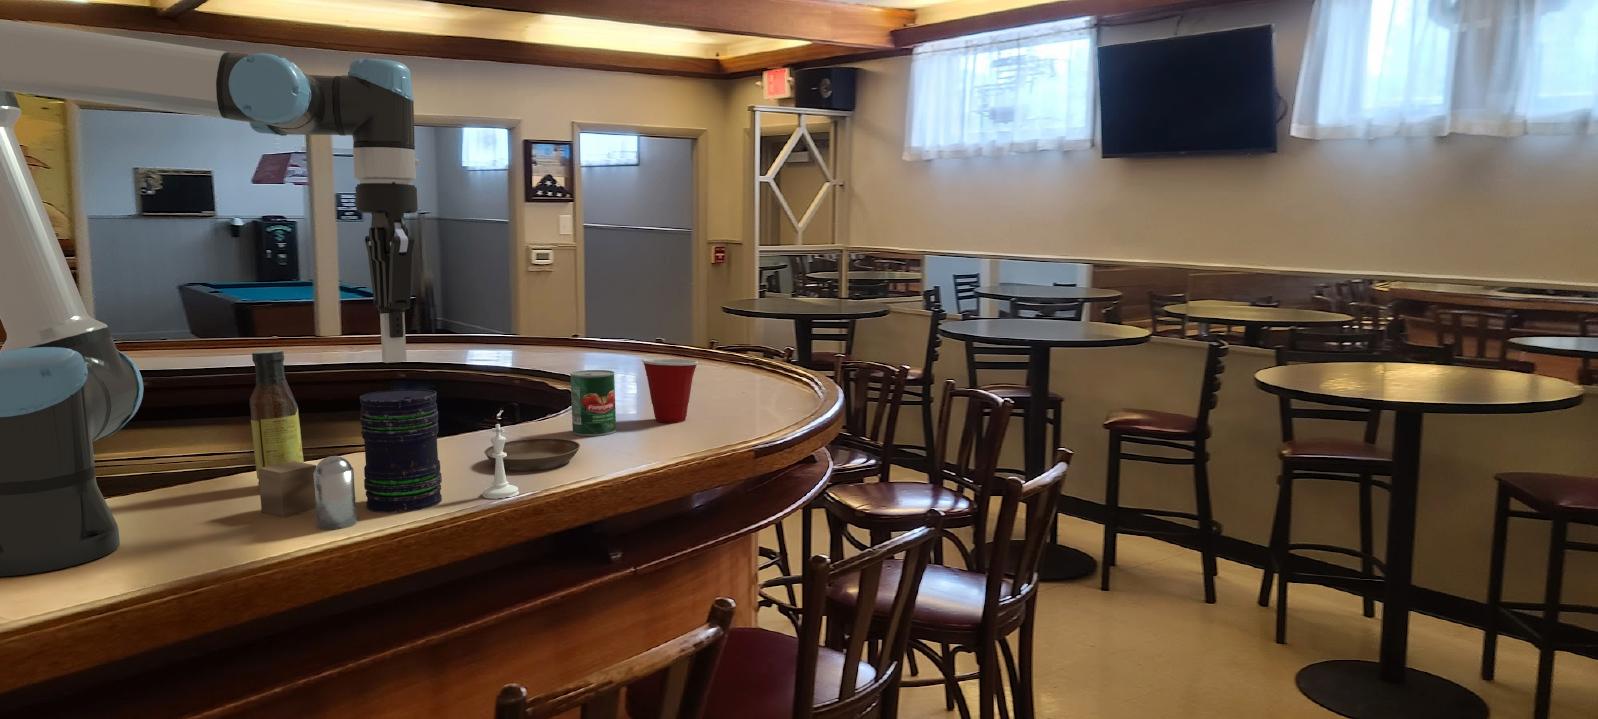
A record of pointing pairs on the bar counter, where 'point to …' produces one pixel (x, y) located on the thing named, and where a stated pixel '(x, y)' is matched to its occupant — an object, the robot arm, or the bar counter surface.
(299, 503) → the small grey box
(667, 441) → the bar counter surface
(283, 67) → the robot arm
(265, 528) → the bar counter surface
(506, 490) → the chess piece
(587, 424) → the canned tomato
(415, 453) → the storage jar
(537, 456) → the saucer
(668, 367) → the plastic cup
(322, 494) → the metal shaker
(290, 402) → the sauce bottle
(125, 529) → the bar counter surface
